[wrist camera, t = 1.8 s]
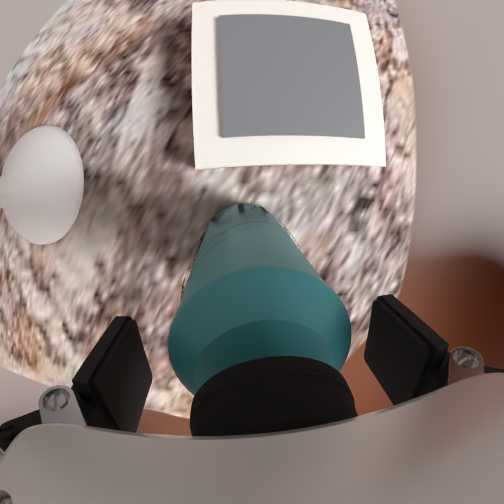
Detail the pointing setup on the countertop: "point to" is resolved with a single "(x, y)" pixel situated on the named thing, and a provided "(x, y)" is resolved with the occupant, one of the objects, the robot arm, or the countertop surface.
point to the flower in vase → (42, 185)
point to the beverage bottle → (259, 332)
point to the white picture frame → (284, 85)
